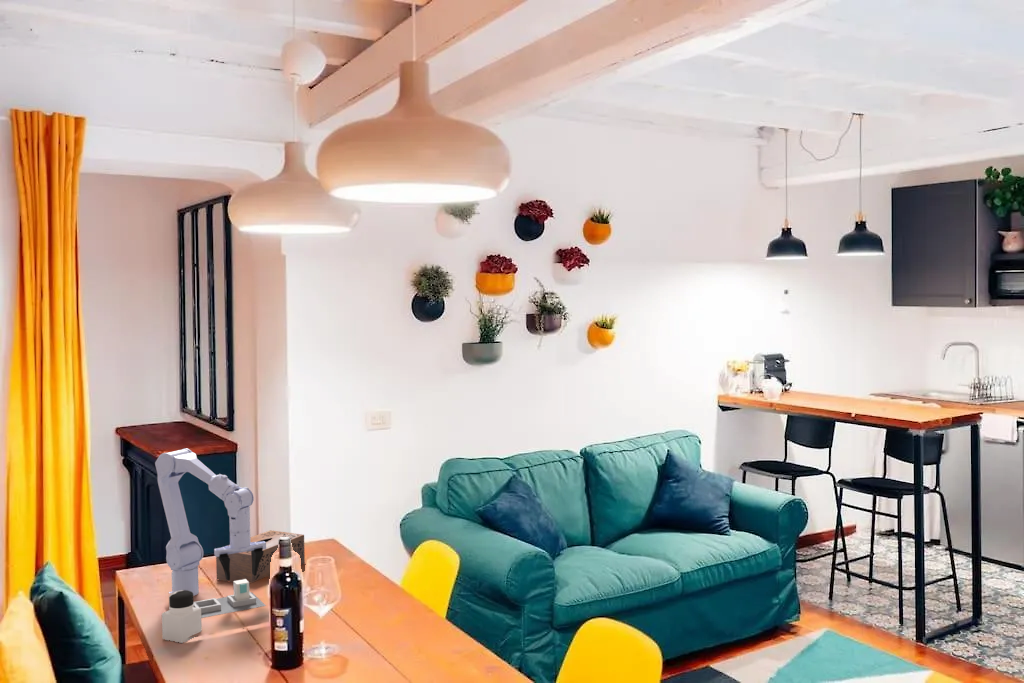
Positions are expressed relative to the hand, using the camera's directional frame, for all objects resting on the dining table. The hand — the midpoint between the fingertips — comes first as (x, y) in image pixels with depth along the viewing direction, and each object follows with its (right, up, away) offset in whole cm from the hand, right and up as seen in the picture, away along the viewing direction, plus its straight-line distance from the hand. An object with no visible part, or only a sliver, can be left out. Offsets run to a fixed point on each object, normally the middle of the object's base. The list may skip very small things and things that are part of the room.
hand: (241, 576), depth 263 cm
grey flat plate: (-4, -9, -2) cm, 10 cm away
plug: (0, -7, 0) cm, 7 cm away
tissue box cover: (-3, -7, +33) cm, 34 cm away
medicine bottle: (-9, -10, -24) cm, 27 cm away
